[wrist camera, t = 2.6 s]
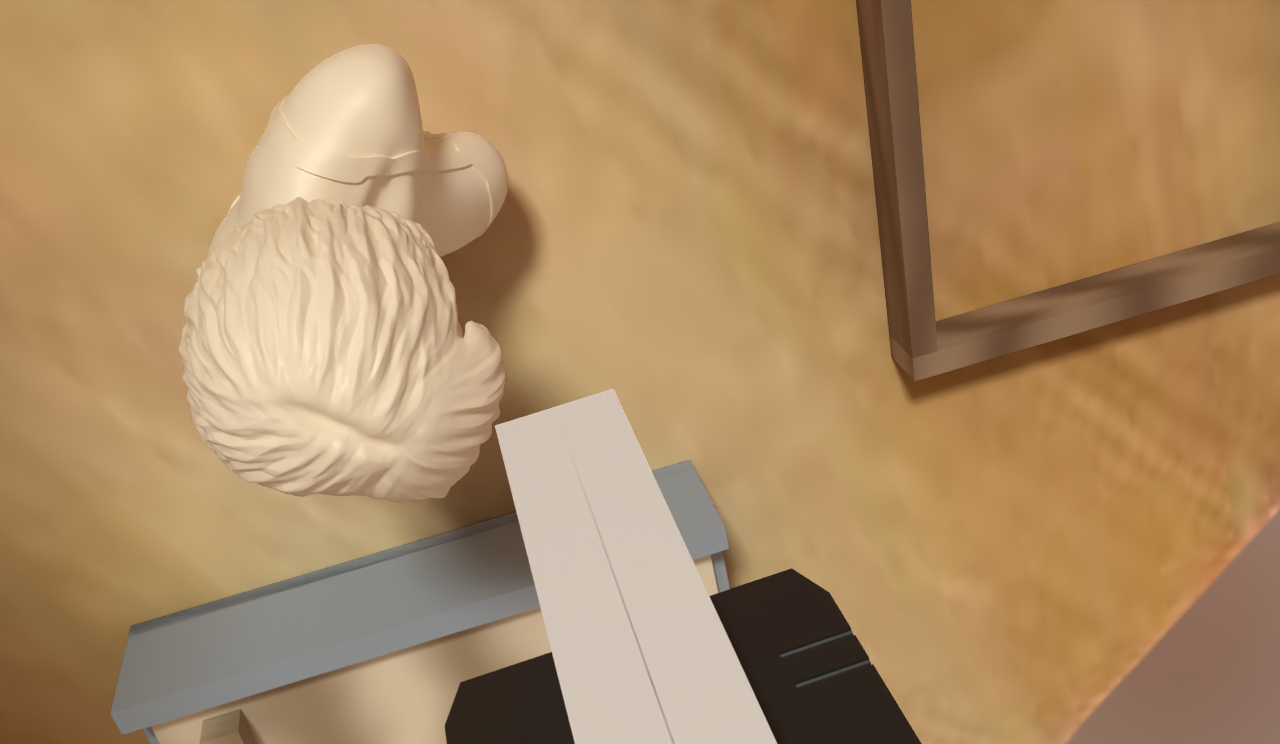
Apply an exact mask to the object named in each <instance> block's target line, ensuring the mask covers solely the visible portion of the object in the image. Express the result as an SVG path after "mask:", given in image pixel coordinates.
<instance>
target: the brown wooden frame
mask: <svg viewBox="0 0 1280 744" xmlns="http://www.w3.org/2000/svg"><path fill="white" fill-rule="evenodd" d="M856 3H857V14H858V24H859V34H860V44H861V54H862V64H863V74H864V84H865V94H866V104H867V114H868V124H869V134H870V145H871V155H872V165H873V175H874V185H875V195H876V205H877V215H878V225H879V235H880V245H881V255H882V265H883V276H884V286H885V296H886V306H887V316H888V326H889V336H890V346H891V356H892V358H893V360H894V361H895V362H896V363H897V364H898V365H899V366H900V367H901V368H902V369H903V370H904V371H905V372H906V373H907V374H908V375H909V376H910V377H911V378H912V379H913V380H914V381H918V380H922V379H925V378H928V377H932V376H935V375H939V374H942V373H945V372H949V371H952V370H955V369H959V368H962V367H966V366H969V365H972V364H976V363H979V362H983V361H986V360H989V359H993V358H996V357H999V356H1003V355H1006V354H1010V353H1013V352H1016V351H1020V350H1023V349H1027V348H1030V347H1033V346H1037V345H1040V344H1043V343H1047V342H1050V341H1054V340H1057V339H1060V338H1064V337H1067V336H1071V335H1074V334H1077V333H1081V332H1084V331H1087V330H1091V329H1094V328H1098V327H1101V326H1104V325H1108V324H1111V323H1115V322H1118V321H1121V320H1125V319H1128V318H1131V317H1135V316H1138V315H1142V314H1145V313H1148V312H1152V311H1155V310H1159V309H1162V308H1165V307H1169V306H1172V305H1175V304H1179V303H1182V302H1186V301H1189V300H1192V299H1196V298H1199V297H1203V296H1206V295H1209V294H1213V293H1216V292H1219V291H1223V290H1226V289H1230V288H1233V287H1236V286H1240V285H1243V284H1247V283H1250V282H1253V281H1257V280H1260V279H1263V278H1267V277H1270V276H1274V275H1277V274H1280V222H1278V223H1275V224H1271V225H1268V226H1264V227H1261V228H1257V229H1254V230H1251V231H1247V232H1244V233H1240V234H1237V235H1233V236H1230V237H1226V238H1223V239H1220V240H1216V241H1213V242H1209V243H1206V244H1202V245H1199V246H1195V247H1192V248H1189V249H1185V250H1182V251H1178V252H1175V253H1171V254H1168V255H1164V256H1161V257H1157V258H1154V259H1151V260H1147V261H1144V262H1140V263H1137V264H1133V265H1130V266H1126V267H1123V268H1120V269H1116V270H1113V271H1109V272H1106V273H1102V274H1099V275H1095V276H1092V277H1089V278H1085V279H1082V280H1078V281H1075V282H1071V283H1068V284H1064V285H1061V286H1057V287H1054V288H1051V289H1047V290H1044V291H1040V292H1037V293H1033V294H1030V295H1026V296H1023V297H1020V298H1016V299H1013V300H1009V301H1006V302H1002V303H999V304H995V305H992V306H989V307H985V308H982V309H978V310H975V311H971V312H968V313H964V314H961V315H957V316H954V317H951V318H947V319H944V320H940V321H937V322H935V310H934V297H933V284H932V271H931V258H930V245H929V232H928V219H927V206H926V193H925V180H924V167H923V154H922V141H921V128H920V115H919V102H918V89H917V76H916V63H915V50H914V37H913V24H912V11H911V0H856Z"/></svg>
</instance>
